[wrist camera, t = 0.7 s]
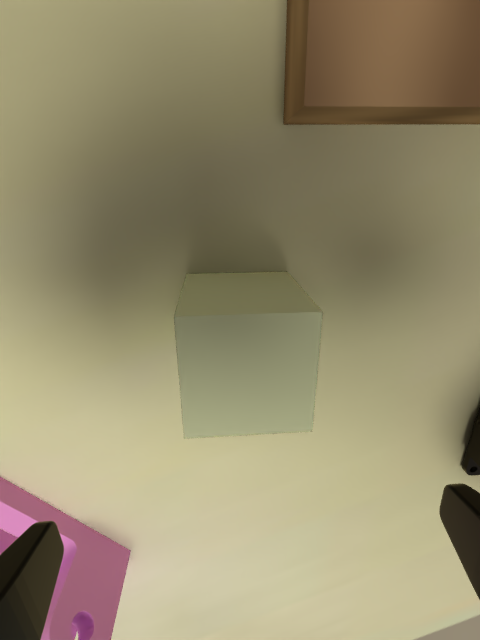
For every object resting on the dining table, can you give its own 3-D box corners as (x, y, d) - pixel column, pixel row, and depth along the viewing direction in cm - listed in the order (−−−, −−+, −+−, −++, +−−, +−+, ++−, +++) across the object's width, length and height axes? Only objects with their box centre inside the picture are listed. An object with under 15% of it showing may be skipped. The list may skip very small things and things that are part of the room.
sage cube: (286, 271, 17) (322, 311, 12) (282, 359, 19) (312, 431, 13) (186, 273, 17) (173, 316, 11) (192, 363, 19) (183, 438, 13)
